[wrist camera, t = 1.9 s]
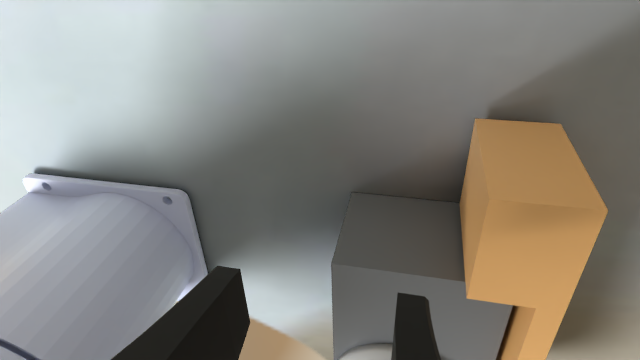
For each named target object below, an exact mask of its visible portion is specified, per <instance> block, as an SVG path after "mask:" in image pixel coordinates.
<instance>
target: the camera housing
mask: <svg viewBox="0 0 640 360" xmlns="http://www.w3.org/2000/svg"><path fill="white" fill-rule="evenodd" d="M331 271H332V310H333V348H334V360H391V356H392V345H393V335H394V324H395V314H396V304H397V294H398V292H399V293H406V294H412V295H419V296H425V297H426V298H427V299H428V300H429V307H430V314H431V320H432V326H433V330H434V335H435V339H436V343H437V347H438V351H439V354H440V358H441V360H496V357H497V354H498V351H499V348H500V345H501V341H502V338H503V335H504V332H505V329H506V326H507V323H508V319H509V316H510V313H511V310H512V307H513V305H508V304H501V303H494V302H487V301H480V300H473V299H467V297H466V283H465V270H464V256H463V243H462V230H461V216H460V203H453V202H443V201H433V200H424V199H414V198H404V197H394V196H384V195H374V194H365V193H355V192H352V193H351V197H350V200H349V204H348V207H347V211H346V214H345V218H344V221H343V225H342V228H341V232H340V235H339V239H338V242H337V245H336V249H335V252H334V256H333V259H332V263H331Z"/></svg>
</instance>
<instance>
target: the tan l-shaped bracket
mask: <svg viewBox="0 0 640 360" xmlns="http://www.w3.org/2000/svg"><path fill="white" fill-rule="evenodd" d="M607 213H608V209H607V207H606V206H605V204H604V202H603V200H602V198H601V196H600V195H599V193H598V191H597V189H596V187H595V186H594V184H593V182H592V180H591V178H590V176H589V175H588V173H587V171H586V169H585V167H584V165H583V164H582V162H581V160H580V158H579V156H578V155H577V153H576V151H575V149H574V147H573V145H572V144H571V142H570V140H569V138H568V136H567V134H566V133H565V131H564V129H563V127H562V125H561V124H556V123H540V122H524V121H508V120H492V119H475V122H474V128H473V133H472V139H471V144H470V150H469V155H468V161H467V166H466V172H465V177H464V183H463V188H462V194H461V199H460V216H461V230H462V243H463V256H464V270H465V283H466V297H467V299H473V300H480V301H487V302H494V303H501V304H508V305H513V307H512V310H511V313H510V316H509V319H508V323H507V326H506V329H505V332H504V335H503V338H502V341H501V345H500V348H499V351H498V354H497V357H496V360H545V359H546V357H547V355H548V352H549V350H550V348H551V345H552V343H553V340H554V338H555V336H556V333H557V331H558V329H559V326H560V324H561V322H562V319H563V317H564V314H565V312H566V310H567V307H568V305H569V303H570V300H571V298H572V296H573V293H574V291H575V288H576V286H577V284H578V281H579V279H580V277H581V274H582V272H583V270H584V267H585V265H586V263H587V260H588V258H589V255H590V253H591V251H592V248H593V246H594V244H595V241H596V239H597V237H598V234H599V232H600V229H601V227H602V225H603V222H604V220H605V218H606V215H607Z"/></svg>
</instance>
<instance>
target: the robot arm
mask: <svg viewBox="0 0 640 360" xmlns="http://www.w3.org/2000/svg"><path fill="white" fill-rule="evenodd" d="M23 184H24V186H25V188H26V190H27V192H28V193H27V194H26V195H25V196H23V197H22V198H20V199H19V200H18V201H16V202H15V203H14V204H12V205H11V206H9V207H8V208H7V209H5V210H4V211H2V212H1V213H0V360H238V358H239V355H240V352H241V349H242V347H243V343H244V340H245V337H246V334H247V331H248V327H249V325H250V319H249V314H248V309H247V303H246V298H245V293H244V288H243V282H242V277H241V272H240V269H236V268H229V267H222V266H217V267H216V268H214V269H213V270H212V271H211V272H210V273H209V274H208V272H207V268H206V264H205V260H204V256H203V252H202V248H201V244H200V239H199V235H198V231H197V227H196V223H195V219H194V215H193V211H192V207H191V203H190V199H189V197H188V195H187V194H186V193H185V192H184V191H182V190H179V189H170V188H161V187H152V186H143V185H134V184H125V183H116V182H106V181H97V180H88V179H79V178H70V177H61V176H52V175H43V174H33V173H30V174H28V175H26V176H25V177H24V178H23ZM168 197H169V198H170V199H171V200H170V199H169V198H168ZM176 301H179V302H178V303H176ZM175 303H176V304H175ZM174 304H175V305H174ZM391 360H441V358H440V354H439V351H438V347H437V343H436V339H435V335H434V330H433V326H432V320H431V314H430V307H429V300H428V299H427V298H426V297H425V296H419V295H412V294H406V293H399V292H398V294H397V304H396V314H395V324H394V335H393V345H392V356H391Z"/></svg>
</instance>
